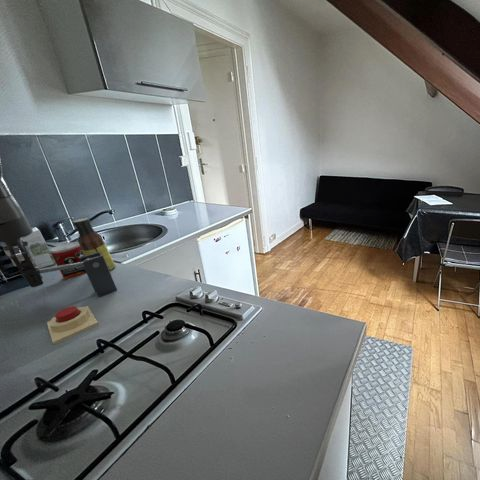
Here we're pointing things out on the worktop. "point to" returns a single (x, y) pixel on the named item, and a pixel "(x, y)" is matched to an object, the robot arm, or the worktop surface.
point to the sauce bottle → (92, 241)
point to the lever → (58, 267)
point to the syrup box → (39, 249)
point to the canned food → (68, 258)
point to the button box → (71, 325)
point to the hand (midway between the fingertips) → (36, 282)
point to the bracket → (98, 274)
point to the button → (67, 314)
